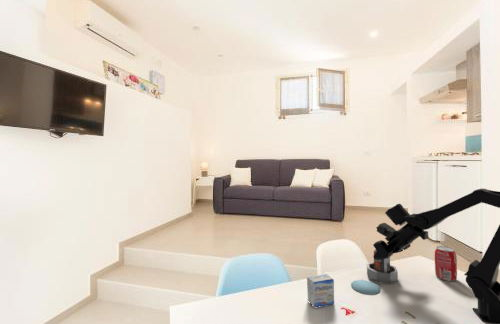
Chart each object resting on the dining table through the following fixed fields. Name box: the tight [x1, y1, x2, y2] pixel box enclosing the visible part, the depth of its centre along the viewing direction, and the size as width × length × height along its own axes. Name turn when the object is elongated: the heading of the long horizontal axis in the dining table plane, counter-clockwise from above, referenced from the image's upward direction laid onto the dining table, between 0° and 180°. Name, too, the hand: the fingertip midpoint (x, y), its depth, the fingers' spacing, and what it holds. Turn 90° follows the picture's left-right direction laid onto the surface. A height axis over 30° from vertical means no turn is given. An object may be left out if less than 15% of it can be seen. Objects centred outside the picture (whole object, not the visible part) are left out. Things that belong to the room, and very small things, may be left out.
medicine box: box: [306, 274, 335, 308], centre depth 86 cm, size 8×4×9 cm, turn 105°
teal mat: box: [350, 279, 381, 295], centre depth 95 cm, size 10×10×1 cm
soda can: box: [434, 245, 458, 282], centre depth 101 cm, size 7×7×12 cm
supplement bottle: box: [373, 249, 391, 273], centre depth 103 cm, size 6×6×11 cm
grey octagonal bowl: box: [366, 261, 399, 285], centre depth 103 cm, size 11×11×4 cm
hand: (378, 256), depth 104 cm, fingers closed on supplement bottle, 6 cm apart
